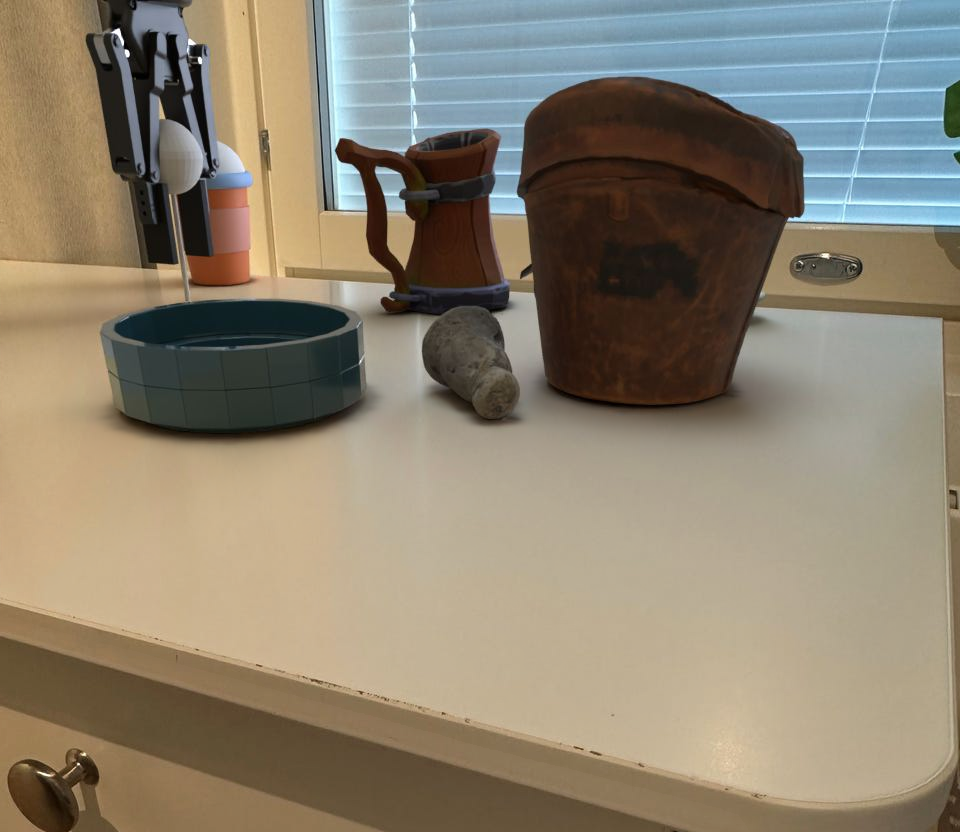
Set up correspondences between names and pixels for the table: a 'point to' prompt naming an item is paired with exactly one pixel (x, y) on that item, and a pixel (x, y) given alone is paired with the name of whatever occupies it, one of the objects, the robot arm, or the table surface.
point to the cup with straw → (226, 224)
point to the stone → (472, 360)
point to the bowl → (235, 363)
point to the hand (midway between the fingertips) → (182, 258)
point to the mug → (437, 221)
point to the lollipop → (179, 173)
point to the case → (650, 235)
